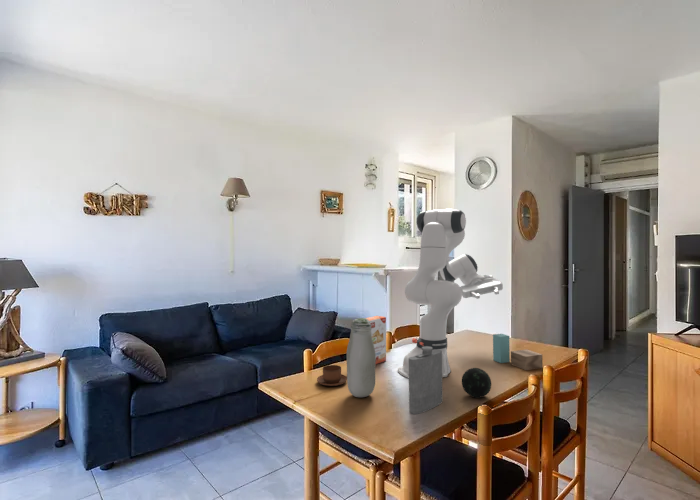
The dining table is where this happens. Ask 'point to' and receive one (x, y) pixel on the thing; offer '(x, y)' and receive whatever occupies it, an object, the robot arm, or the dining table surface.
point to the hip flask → (425, 380)
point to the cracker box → (379, 337)
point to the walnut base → (526, 359)
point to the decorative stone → (476, 382)
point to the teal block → (501, 348)
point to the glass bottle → (361, 359)
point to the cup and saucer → (332, 376)
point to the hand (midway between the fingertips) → (487, 295)
